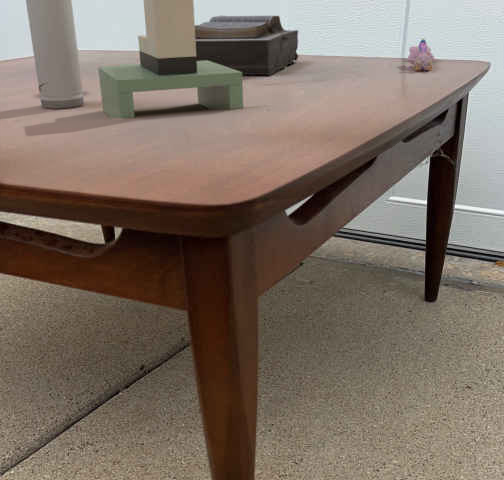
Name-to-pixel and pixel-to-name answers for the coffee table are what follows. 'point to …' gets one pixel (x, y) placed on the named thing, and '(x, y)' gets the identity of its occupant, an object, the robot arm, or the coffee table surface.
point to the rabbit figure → (421, 57)
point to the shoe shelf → (169, 86)
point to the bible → (246, 43)
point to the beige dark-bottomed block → (168, 37)
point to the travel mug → (55, 53)
